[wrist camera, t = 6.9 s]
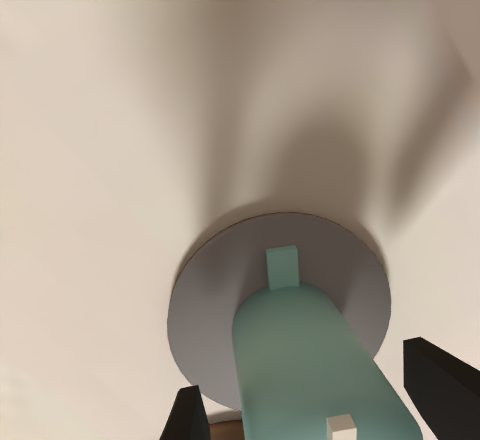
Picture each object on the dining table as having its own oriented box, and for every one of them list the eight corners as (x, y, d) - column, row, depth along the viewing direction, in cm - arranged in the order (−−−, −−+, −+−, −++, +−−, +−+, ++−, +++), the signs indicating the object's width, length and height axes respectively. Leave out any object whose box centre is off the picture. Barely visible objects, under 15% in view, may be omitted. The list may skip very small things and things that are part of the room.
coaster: (380, 192, 14) (388, 195, 13) (386, 379, 17) (393, 388, 16) (142, 237, 13) (140, 243, 13) (194, 422, 16) (194, 433, 16)
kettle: (338, 364, 15) (426, 525, 9) (237, 381, 15) (260, 559, 9) (336, 238, 13) (447, 338, 7) (220, 254, 13) (235, 372, 7)
